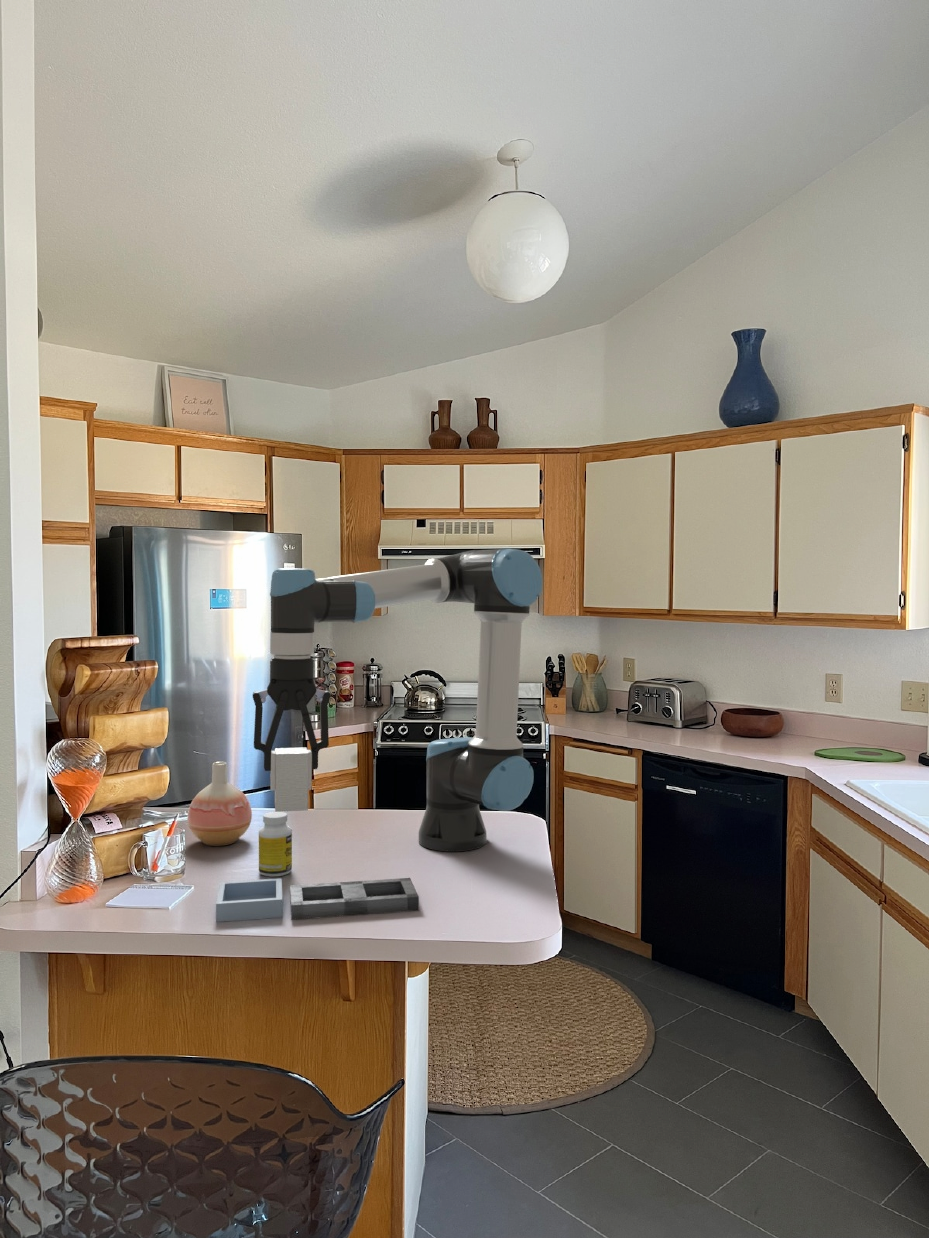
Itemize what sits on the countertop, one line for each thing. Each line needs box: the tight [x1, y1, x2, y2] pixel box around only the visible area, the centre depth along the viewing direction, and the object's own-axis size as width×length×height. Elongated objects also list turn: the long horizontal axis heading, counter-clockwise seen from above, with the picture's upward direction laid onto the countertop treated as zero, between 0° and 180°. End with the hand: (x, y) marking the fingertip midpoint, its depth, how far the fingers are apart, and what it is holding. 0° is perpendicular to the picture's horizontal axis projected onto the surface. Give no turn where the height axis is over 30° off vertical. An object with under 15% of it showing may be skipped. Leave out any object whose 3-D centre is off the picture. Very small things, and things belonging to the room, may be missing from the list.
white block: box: [274, 747, 309, 812], centre depth 156 cm, size 6×6×10 cm
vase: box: [187, 761, 253, 847], centre depth 195 cm, size 14×14×18 cm
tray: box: [215, 878, 283, 923], centre depth 157 cm, size 11×11×3 cm
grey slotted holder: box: [289, 877, 420, 921], centre depth 159 cm, size 22×10×2 cm, turn 102°
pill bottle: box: [258, 811, 293, 878], centre depth 175 cm, size 6×6×12 cm
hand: (290, 788), depth 156 cm, fingers closed on white block, 5 cm apart
